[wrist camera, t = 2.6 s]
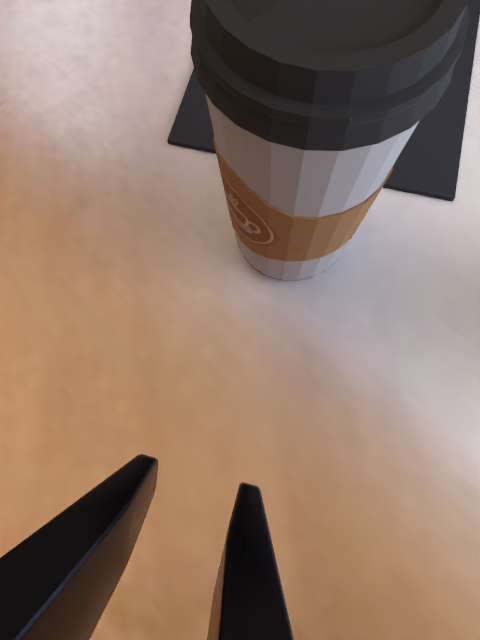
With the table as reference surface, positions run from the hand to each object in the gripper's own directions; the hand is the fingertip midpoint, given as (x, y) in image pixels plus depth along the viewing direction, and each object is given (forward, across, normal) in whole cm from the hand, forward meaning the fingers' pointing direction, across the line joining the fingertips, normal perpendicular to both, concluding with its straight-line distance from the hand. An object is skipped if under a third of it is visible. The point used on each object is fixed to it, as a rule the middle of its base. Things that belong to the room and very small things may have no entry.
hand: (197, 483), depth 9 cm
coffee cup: (+19, 0, 0) cm, 19 cm away
